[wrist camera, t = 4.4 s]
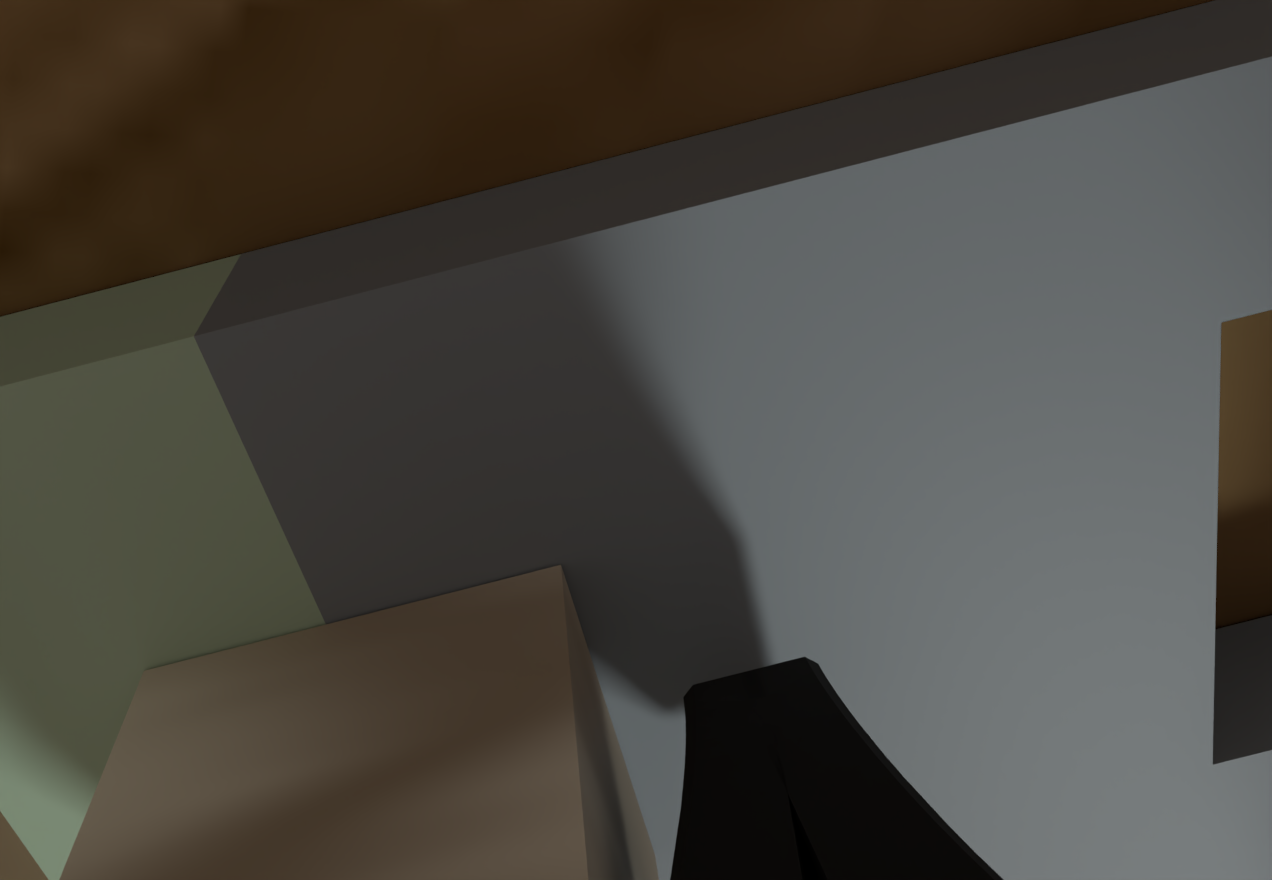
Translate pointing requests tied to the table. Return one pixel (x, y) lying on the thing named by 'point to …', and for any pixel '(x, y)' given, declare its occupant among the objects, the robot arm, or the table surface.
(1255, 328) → the table surface
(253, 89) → the table surface
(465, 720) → the block
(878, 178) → the board
